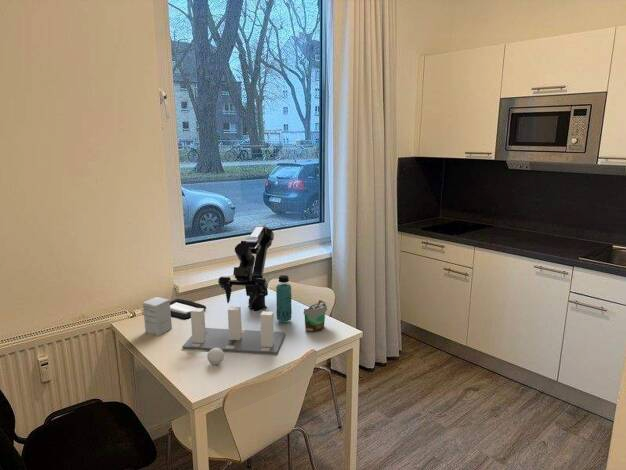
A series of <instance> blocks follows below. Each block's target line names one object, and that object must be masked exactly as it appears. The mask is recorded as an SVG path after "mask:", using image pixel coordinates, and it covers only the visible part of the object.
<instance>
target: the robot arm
mask: <svg viewBox="0 0 626 470" xmlns="http://www.w3.org/2000/svg"><path fill="white" fill-rule="evenodd" d="M274 237H275V234H274V232H273V230H272V229H270V228H268V227H267V226H266V225H265V224H264V225H263V224H261V225H260V224H257V225H255V226H254V229H253V231H252V232H251V234H250V235H249V237H246V238H244V239H242V240H241V241H240V243H237V245H236V246H235V247H234V253H235V255H236V257H237V259H238V260H239V265H238V266H235V267H233V275H232V276H234V279H231V277H230V276H220V277H219V278H218V280H217V281H218V282H217V283H218V284H219V286H220V288H221V289H223V290H224V291H225V296H226V302H227V304H230V301H231V296H232V287H233V286H243V287H244V286H245V287H244V288H245V294H246V295H245V296H246V297H249V298H248V305H247V308H249V309H250V310H252V311H254V312H257V311H260V310H263V309H264V310H265V309H267V308H268V307H267V306H266V297H267V296H268V294H269V292H268V288H269V287H268V285H269V284H268V283H267V279H266V278H265V277H263V276H264V271H265V264H266V258H267V253H268V249H269V248H270V247H271V246H272V244H273V241H274ZM235 279H236V280H235Z"/></svg>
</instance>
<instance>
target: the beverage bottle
mask: <svg viewBox="0 0 626 470" xmlns="http://www.w3.org/2000/svg"><path fill="white" fill-rule="evenodd" d="M289 281H290V279H289V276H288V275H285V274H282V275H279V277H278V284H277V285H276V287H275V288H276V289H275V291H276V306H275V307H276V312H275V314H276V320H277V321H278V322H290V321H291V320H292V315H293V313H292V285H291V284H290V283H288V282H289Z"/></svg>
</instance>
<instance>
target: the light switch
mask: <svg viewBox="0 0 626 470" xmlns="http://www.w3.org/2000/svg"><path fill="white" fill-rule="evenodd" d="M193 308H204V311H205V310H206V309H207V306H206V305H205V304H201V303H199V302H195V301H191V300H187V299H182V298H176V299H173V300H170V312H171V318H175V319H180V320H183V321H187V320H189V319H190V320H191V310H192V309H193ZM186 319H187V320H186Z"/></svg>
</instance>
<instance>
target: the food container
mask: <svg viewBox="0 0 626 470" xmlns="http://www.w3.org/2000/svg"><path fill="white" fill-rule="evenodd" d="M327 306H328V305H327V304H326V302H325V301H324V300H321V299H319V300H318V302H317V303H315V304H313V305H312V304H311V306H309V308H304V309H303V316H304V326H305V332H306V333H320V332H322V331H323V330H324V329H325V323H326V322H325V320H326V312H327V311H328V307H327Z"/></svg>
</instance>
